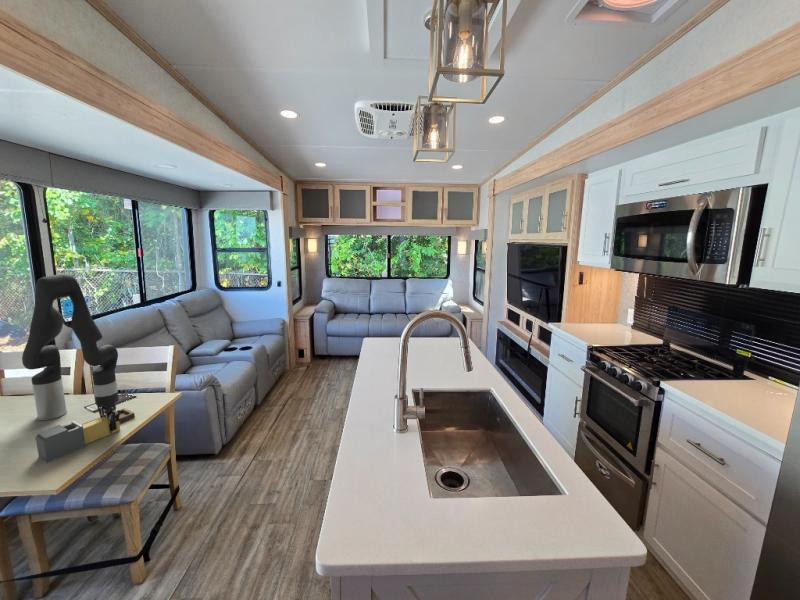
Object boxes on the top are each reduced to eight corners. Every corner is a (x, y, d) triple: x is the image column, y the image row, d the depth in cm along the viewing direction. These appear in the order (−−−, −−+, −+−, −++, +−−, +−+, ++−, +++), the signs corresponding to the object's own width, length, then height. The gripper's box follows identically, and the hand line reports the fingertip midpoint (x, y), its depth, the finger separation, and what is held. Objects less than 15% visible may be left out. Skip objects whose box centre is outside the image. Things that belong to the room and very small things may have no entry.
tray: (75, 431, 141) (74, 426, 140) (124, 412, 157) (124, 408, 157) (85, 437, 137) (84, 432, 137) (134, 417, 153) (134, 412, 153)
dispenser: (38, 457, 124) (34, 433, 123) (77, 441, 134) (74, 419, 133) (47, 463, 122) (43, 439, 120) (85, 446, 132) (82, 424, 130)
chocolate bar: (137, 395, 172) (94, 411, 156) (137, 397, 172) (94, 413, 156) (127, 392, 175) (84, 406, 159) (127, 393, 175) (84, 408, 159)
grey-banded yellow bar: (77, 443, 133) (75, 427, 132) (115, 427, 145) (114, 412, 143) (81, 445, 132) (79, 430, 130) (120, 429, 143) (118, 415, 142)
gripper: (86, 391, 138) (91, 428, 141) (103, 399, 132) (108, 438, 135) (108, 384, 145) (112, 420, 148) (125, 392, 139) (129, 429, 142)
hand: (110, 428), depth 142 cm, fingers closed on grey-banded yellow bar, 3 cm apart
